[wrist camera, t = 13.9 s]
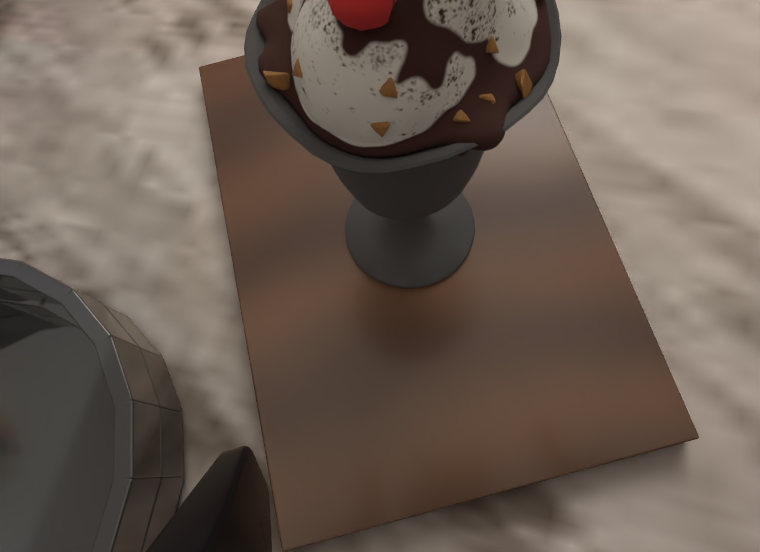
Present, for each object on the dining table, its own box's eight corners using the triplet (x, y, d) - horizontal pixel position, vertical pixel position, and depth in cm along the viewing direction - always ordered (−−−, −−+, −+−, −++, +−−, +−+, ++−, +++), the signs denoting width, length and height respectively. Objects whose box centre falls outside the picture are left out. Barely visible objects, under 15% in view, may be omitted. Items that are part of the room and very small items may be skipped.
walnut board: (686, 439, 19) (700, 438, 18) (289, 548, 19) (282, 552, 18) (499, 6, 26) (502, -12, 25) (206, 81, 25) (198, 66, 24)
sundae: (371, 344, 20) (240, 23, 5) (297, 196, 22) (69, -305, 8) (531, 263, 20) (788, -216, 6) (444, 127, 22) (482, -457, 8)
